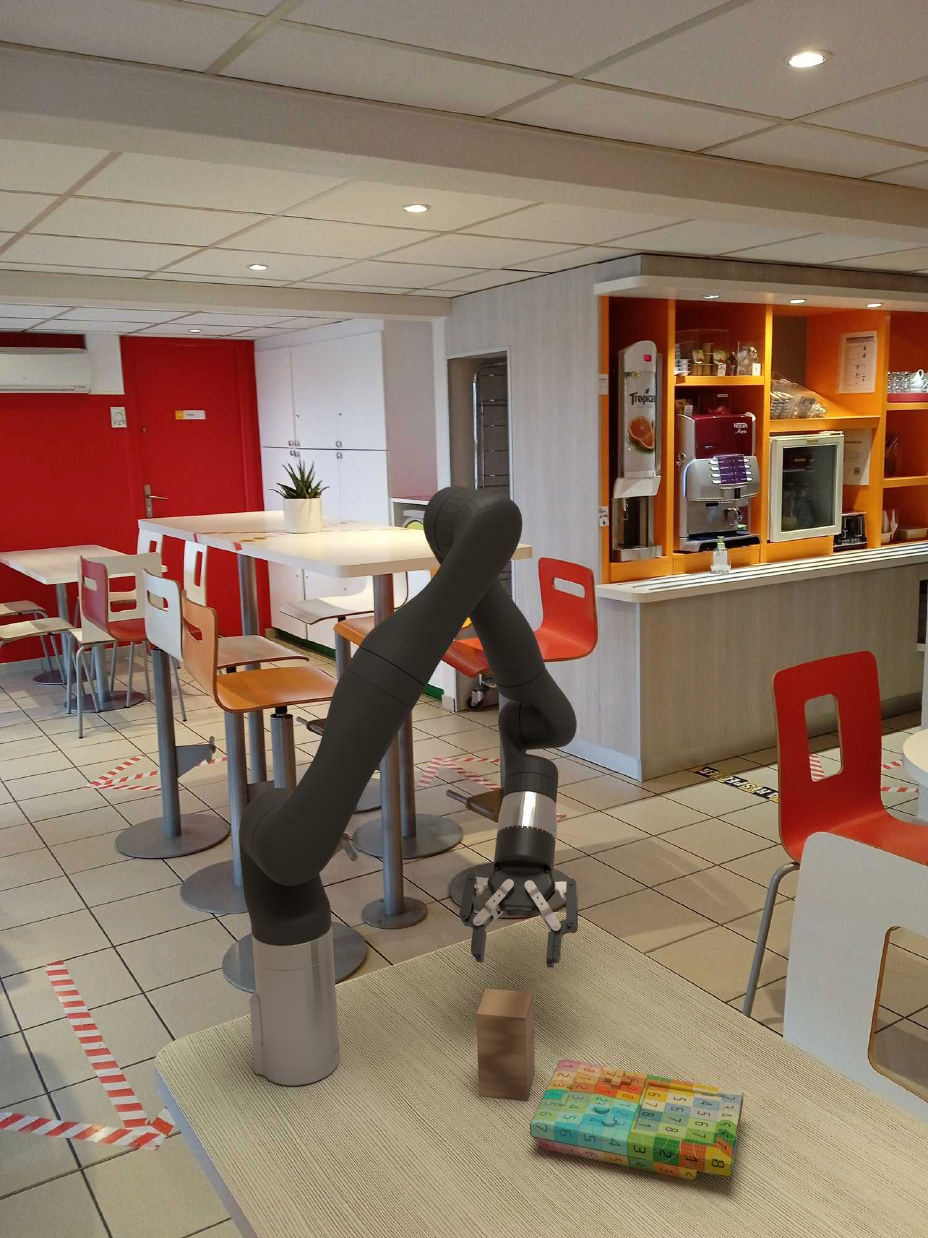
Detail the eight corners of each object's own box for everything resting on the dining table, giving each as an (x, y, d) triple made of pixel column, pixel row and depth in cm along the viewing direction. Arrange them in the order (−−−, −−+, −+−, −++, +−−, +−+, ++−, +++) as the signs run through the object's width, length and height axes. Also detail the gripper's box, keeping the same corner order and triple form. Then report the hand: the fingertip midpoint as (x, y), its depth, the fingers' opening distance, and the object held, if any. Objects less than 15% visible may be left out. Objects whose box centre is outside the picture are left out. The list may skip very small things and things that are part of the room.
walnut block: (479, 1096, 115) (476, 1014, 114) (488, 1068, 121) (485, 988, 119) (527, 1101, 114) (525, 1018, 113) (535, 1072, 119) (532, 992, 118)
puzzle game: (559, 1052, 116) (743, 1084, 109) (560, 1091, 116) (743, 1125, 109) (529, 1116, 105) (731, 1156, 98) (530, 1157, 105) (731, 1200, 99)
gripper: (466, 821, 130) (450, 949, 121) (579, 825, 127) (571, 957, 118) (476, 845, 136) (461, 969, 126) (584, 850, 133) (577, 977, 123)
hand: (514, 963), depth 122 cm, fingers open, 8 cm apart
